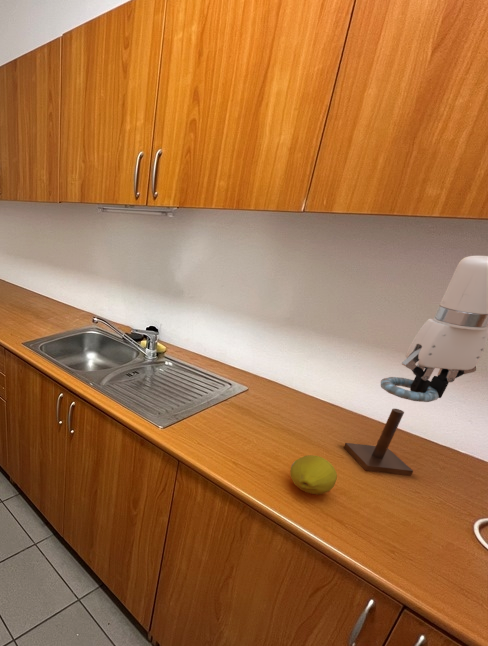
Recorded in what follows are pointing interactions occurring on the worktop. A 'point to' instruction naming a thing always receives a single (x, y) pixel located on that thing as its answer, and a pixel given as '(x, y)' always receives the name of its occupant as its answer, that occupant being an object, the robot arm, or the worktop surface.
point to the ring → (393, 382)
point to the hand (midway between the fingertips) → (425, 393)
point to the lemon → (313, 474)
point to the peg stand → (381, 450)
